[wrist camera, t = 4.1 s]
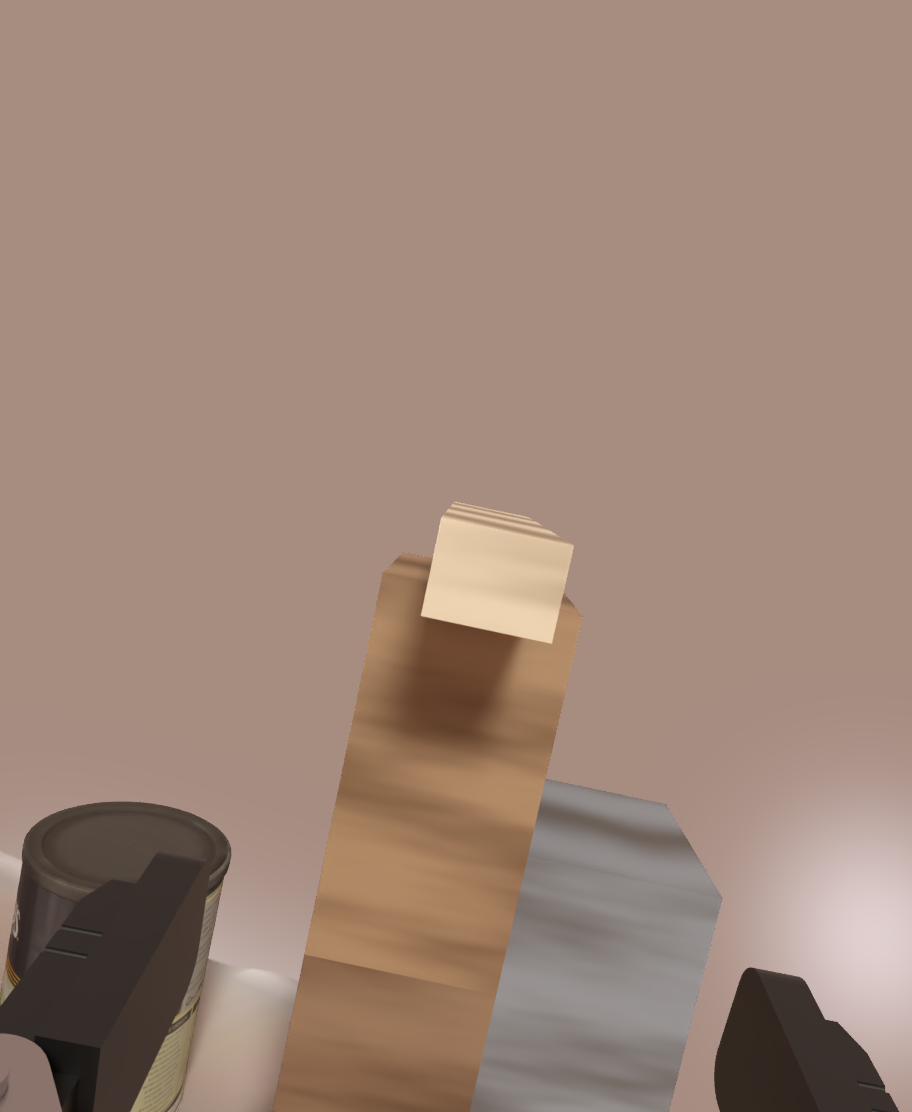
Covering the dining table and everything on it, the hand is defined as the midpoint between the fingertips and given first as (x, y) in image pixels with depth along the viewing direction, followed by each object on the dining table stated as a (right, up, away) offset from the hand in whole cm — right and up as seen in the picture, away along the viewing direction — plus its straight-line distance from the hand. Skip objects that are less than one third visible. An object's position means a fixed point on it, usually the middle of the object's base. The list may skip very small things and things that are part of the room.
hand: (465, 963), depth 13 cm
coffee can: (-20, -23, +34) cm, 45 cm away
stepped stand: (-2, -27, +29) cm, 40 cm away
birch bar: (+1, +5, +23) cm, 23 cm away
